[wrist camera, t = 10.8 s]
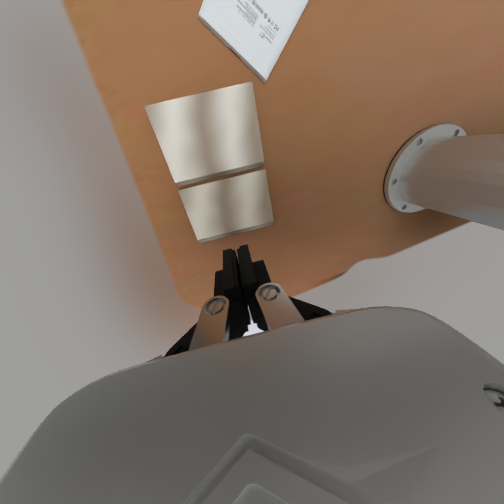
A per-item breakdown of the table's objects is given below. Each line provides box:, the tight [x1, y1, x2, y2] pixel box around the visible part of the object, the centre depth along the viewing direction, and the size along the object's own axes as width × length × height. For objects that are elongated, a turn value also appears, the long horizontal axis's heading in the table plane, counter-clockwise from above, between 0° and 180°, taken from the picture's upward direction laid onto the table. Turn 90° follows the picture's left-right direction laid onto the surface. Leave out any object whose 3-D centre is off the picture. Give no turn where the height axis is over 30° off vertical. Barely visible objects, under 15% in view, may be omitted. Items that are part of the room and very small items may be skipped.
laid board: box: [144, 82, 264, 186], centre depth 22 cm, size 12×9×1 cm
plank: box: [178, 169, 274, 243], centre depth 26 cm, size 12×8×1 cm, turn 102°
